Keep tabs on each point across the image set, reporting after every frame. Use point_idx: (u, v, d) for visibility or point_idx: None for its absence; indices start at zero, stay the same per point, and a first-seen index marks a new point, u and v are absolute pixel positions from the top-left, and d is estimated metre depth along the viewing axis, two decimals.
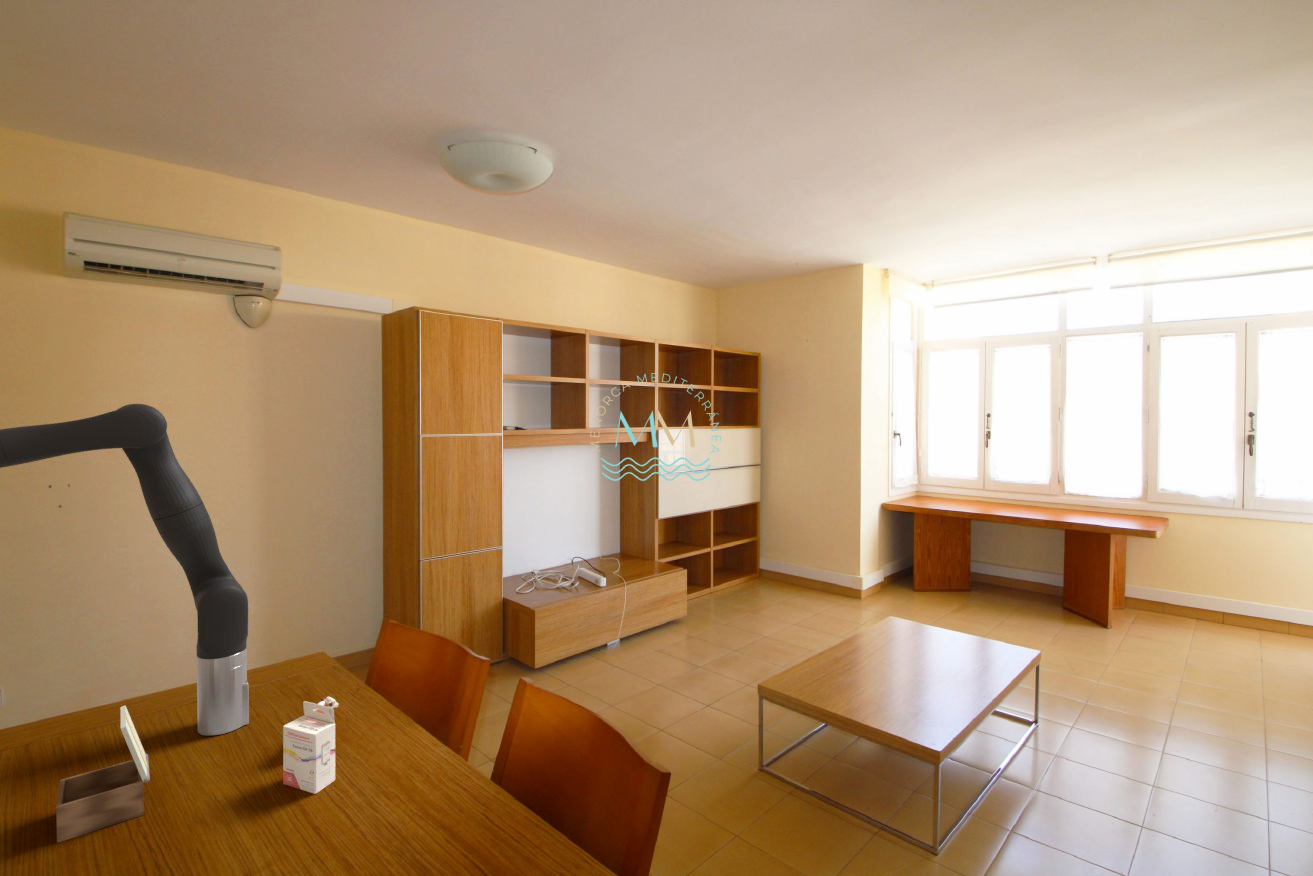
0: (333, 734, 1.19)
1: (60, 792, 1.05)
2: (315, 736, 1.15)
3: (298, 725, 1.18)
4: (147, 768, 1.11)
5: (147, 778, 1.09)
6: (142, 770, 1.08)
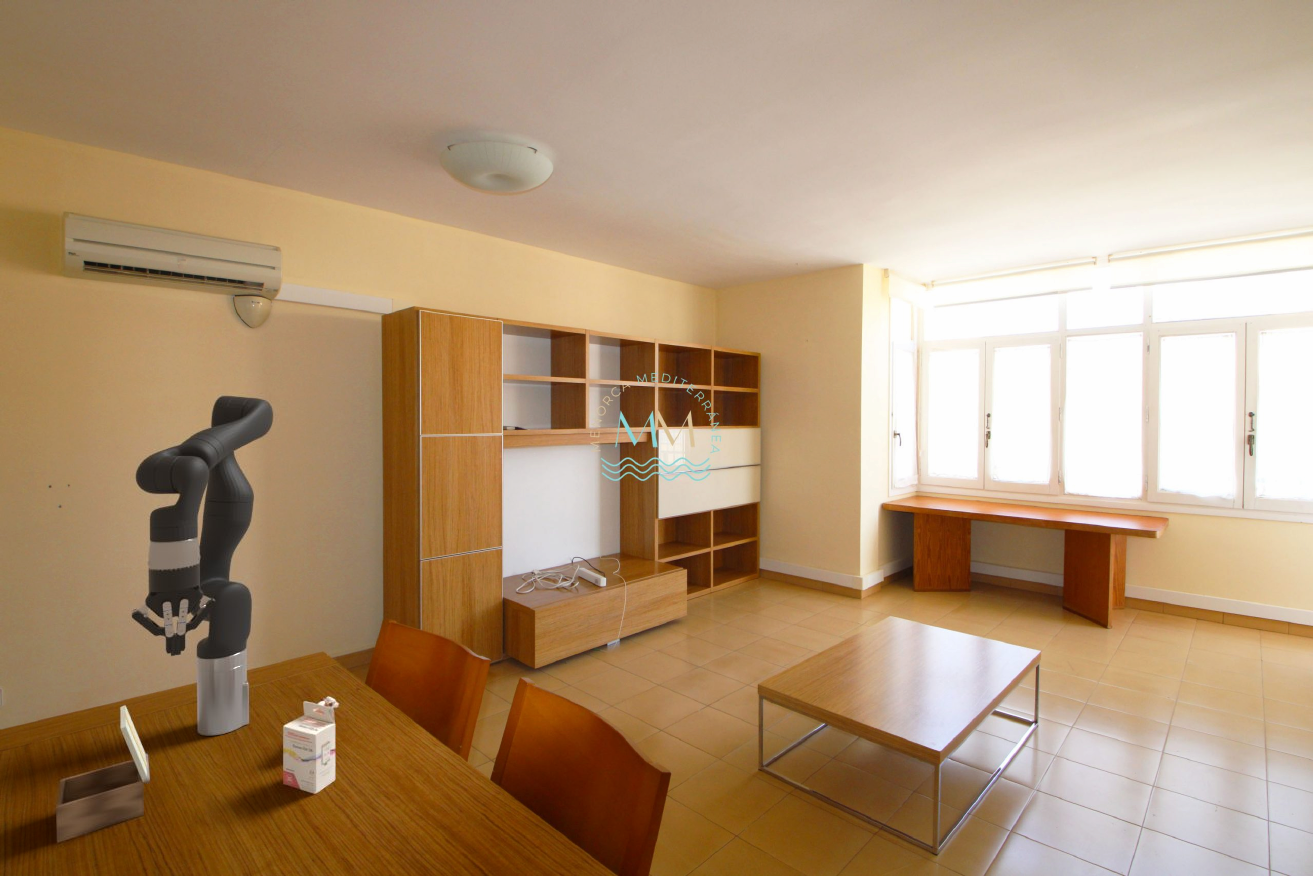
0: (333, 734, 1.19)
1: (60, 792, 1.05)
2: (314, 736, 1.15)
3: (298, 725, 1.18)
4: (147, 768, 1.11)
5: (147, 778, 1.09)
6: (142, 770, 1.08)
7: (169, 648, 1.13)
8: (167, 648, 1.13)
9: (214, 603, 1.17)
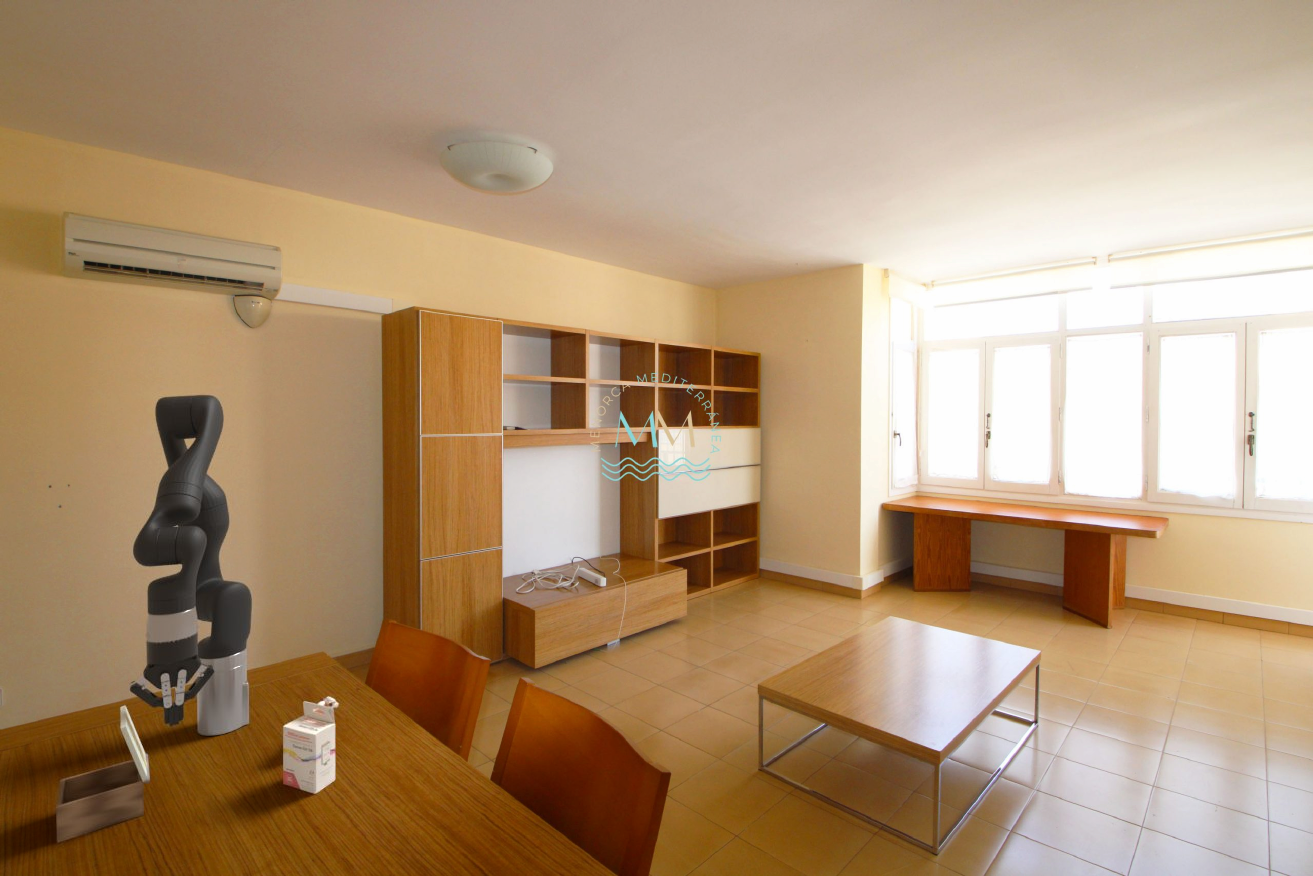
0: (333, 734, 1.19)
1: (60, 792, 1.05)
2: (314, 736, 1.15)
3: (298, 725, 1.18)
4: (147, 768, 1.11)
5: (147, 778, 1.09)
6: (142, 770, 1.08)
7: (167, 718, 1.14)
8: (165, 719, 1.13)
9: (212, 671, 1.17)
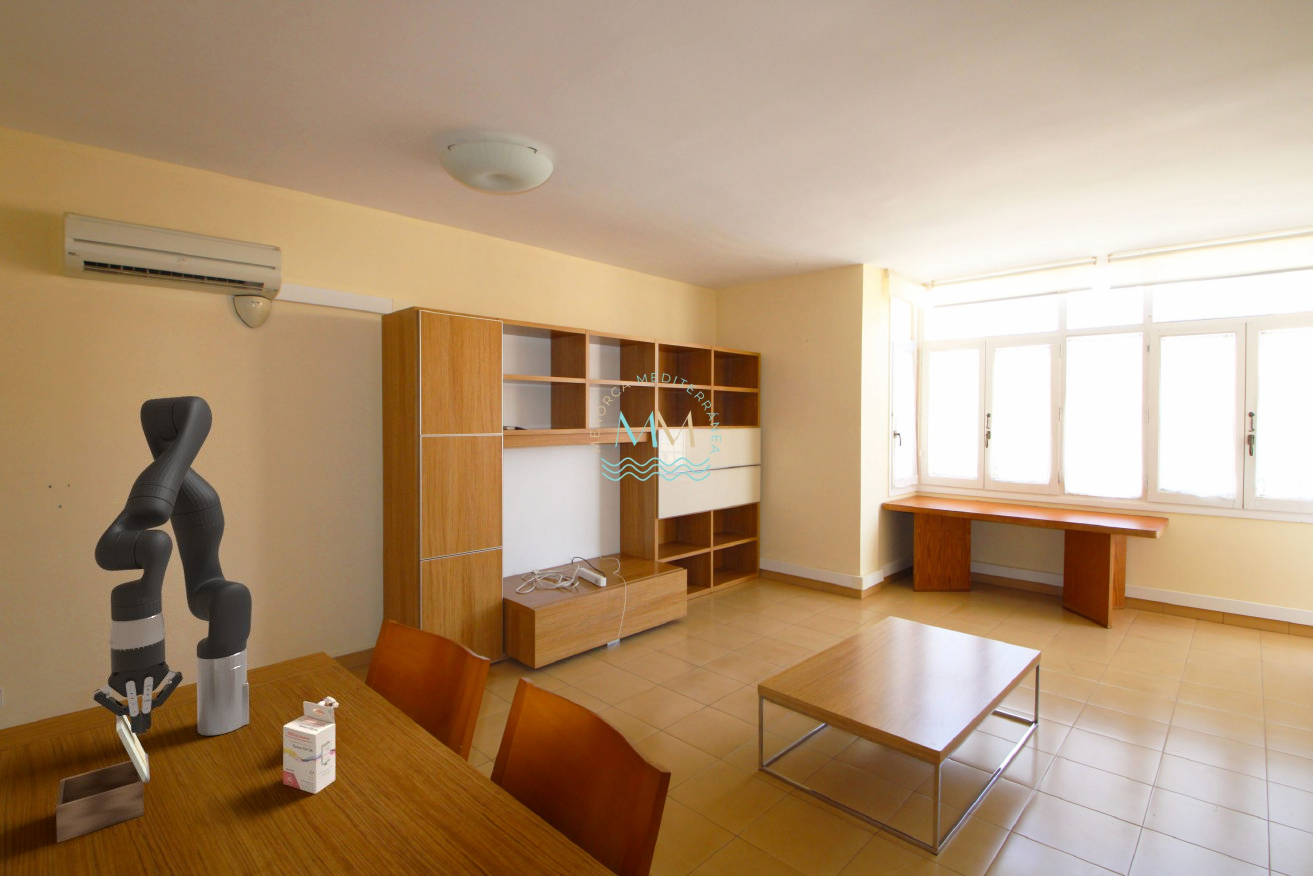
0: (333, 734, 1.19)
1: (60, 792, 1.05)
2: (314, 736, 1.15)
3: (298, 725, 1.18)
4: (147, 768, 1.11)
5: (147, 778, 1.09)
6: (141, 770, 1.08)
7: (134, 727, 1.10)
8: (132, 727, 1.10)
9: (181, 678, 1.14)
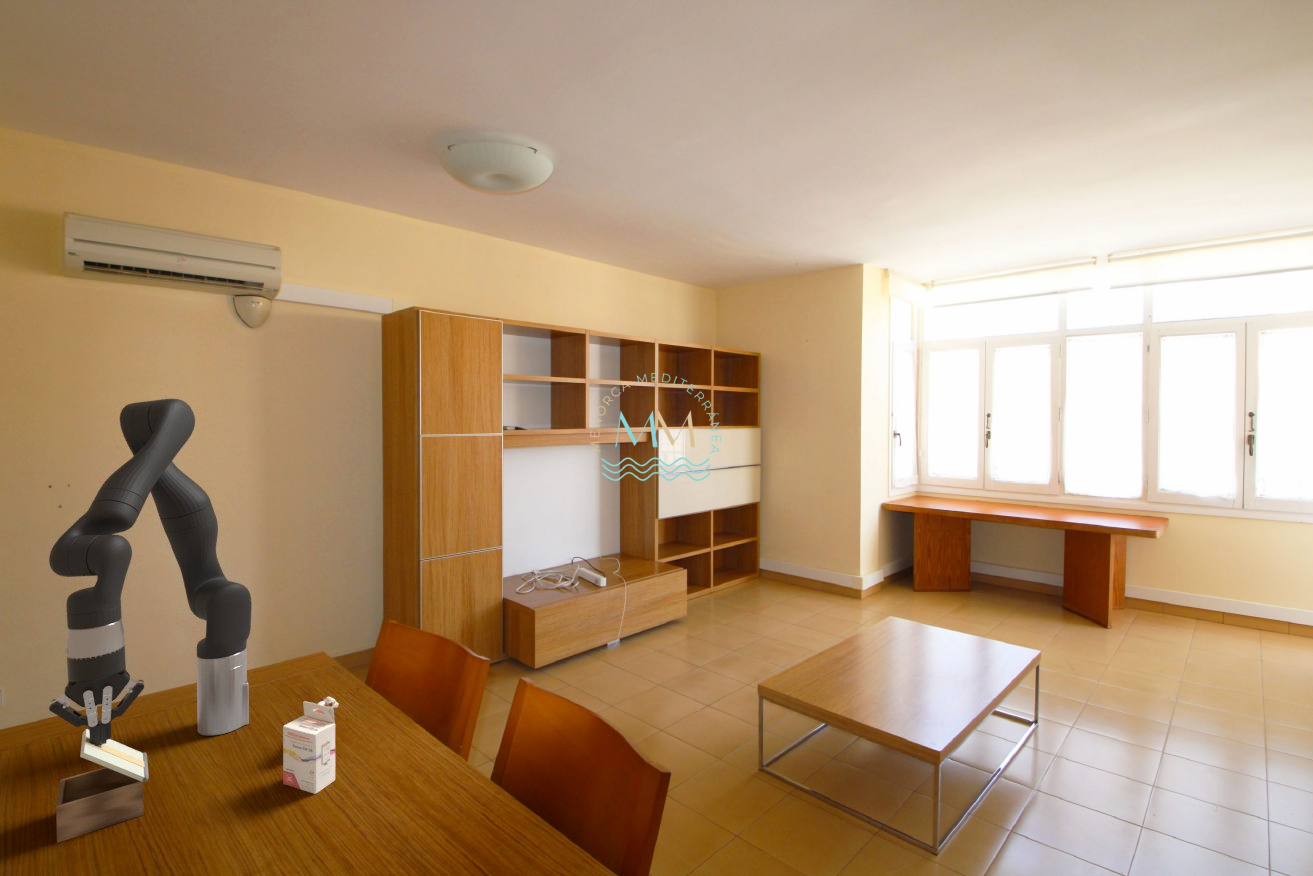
0: (333, 734, 1.19)
1: (60, 792, 1.05)
2: (314, 736, 1.15)
3: (298, 725, 1.18)
4: (144, 767, 1.11)
5: (145, 777, 1.08)
6: (134, 774, 1.07)
7: (93, 738, 1.07)
8: (91, 738, 1.07)
9: (142, 687, 1.11)
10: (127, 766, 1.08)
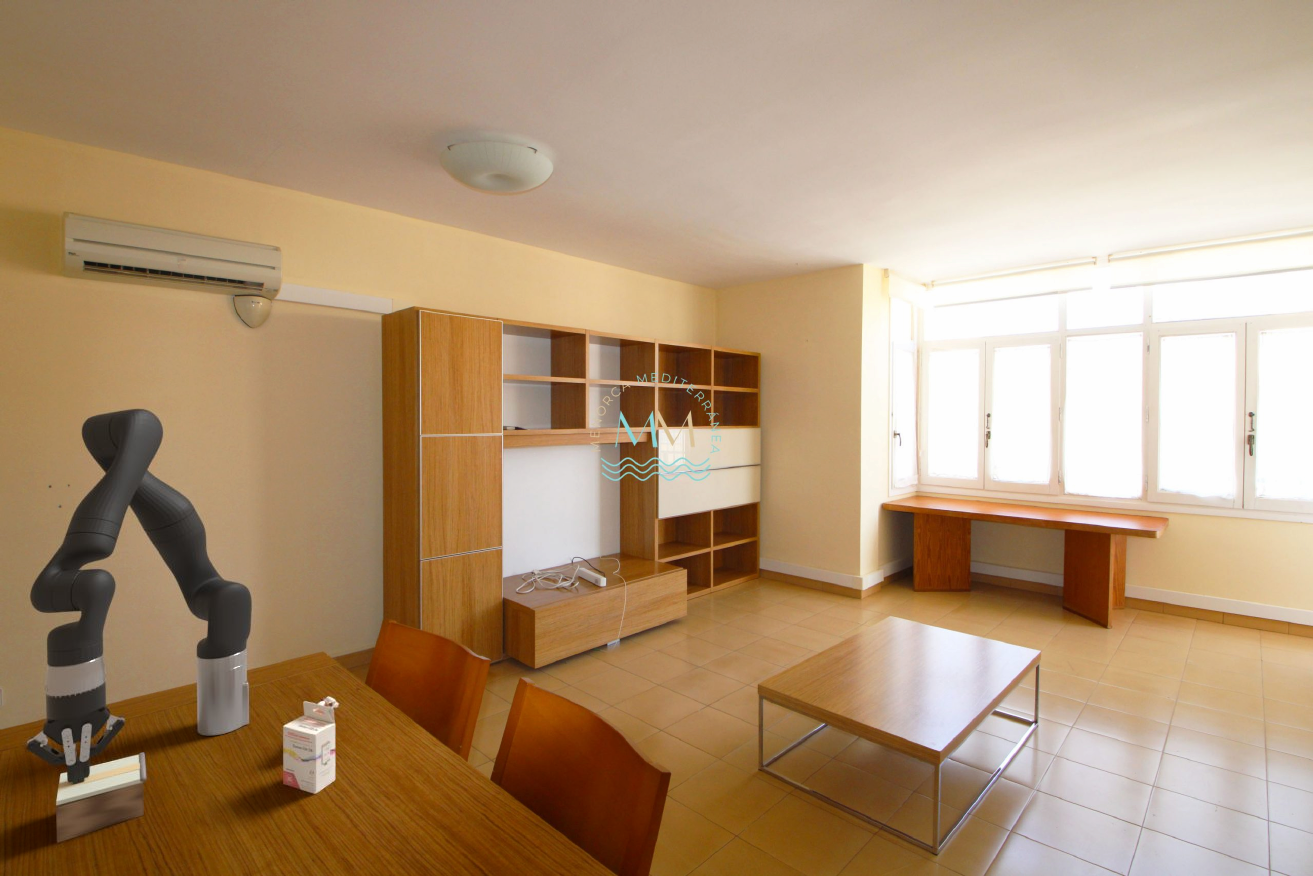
0: (333, 734, 1.19)
1: None
2: (315, 736, 1.15)
3: (298, 725, 1.18)
4: (140, 768, 1.11)
5: (141, 778, 1.08)
6: (127, 783, 1.07)
7: (71, 776, 1.05)
8: (68, 776, 1.05)
9: (122, 724, 1.09)
10: (117, 781, 1.07)
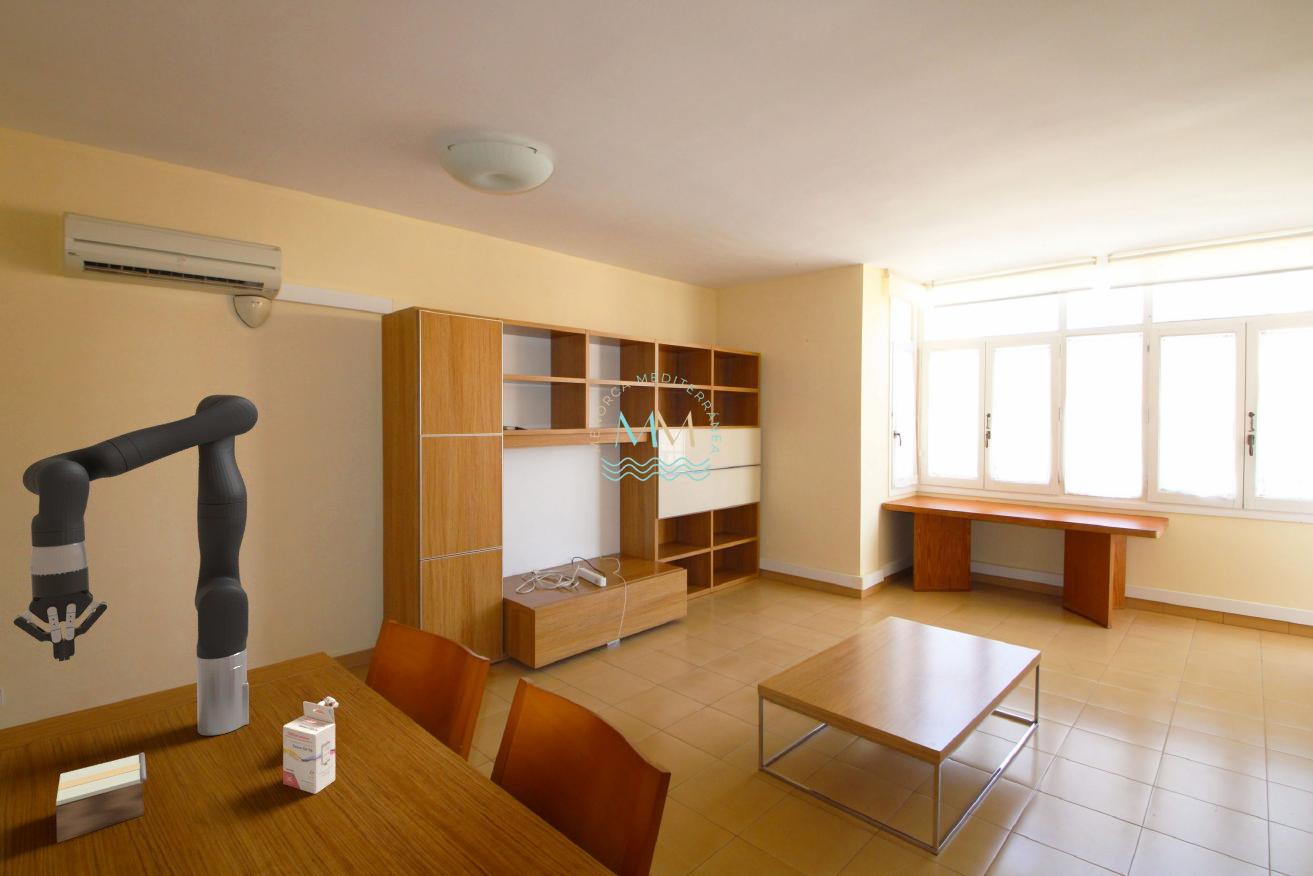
0: (333, 734, 1.19)
1: None
2: (314, 736, 1.15)
3: (298, 725, 1.18)
4: (140, 768, 1.11)
5: (141, 778, 1.08)
6: (127, 783, 1.07)
7: (57, 653, 1.12)
8: (54, 653, 1.12)
9: (105, 607, 1.16)
10: (117, 781, 1.07)
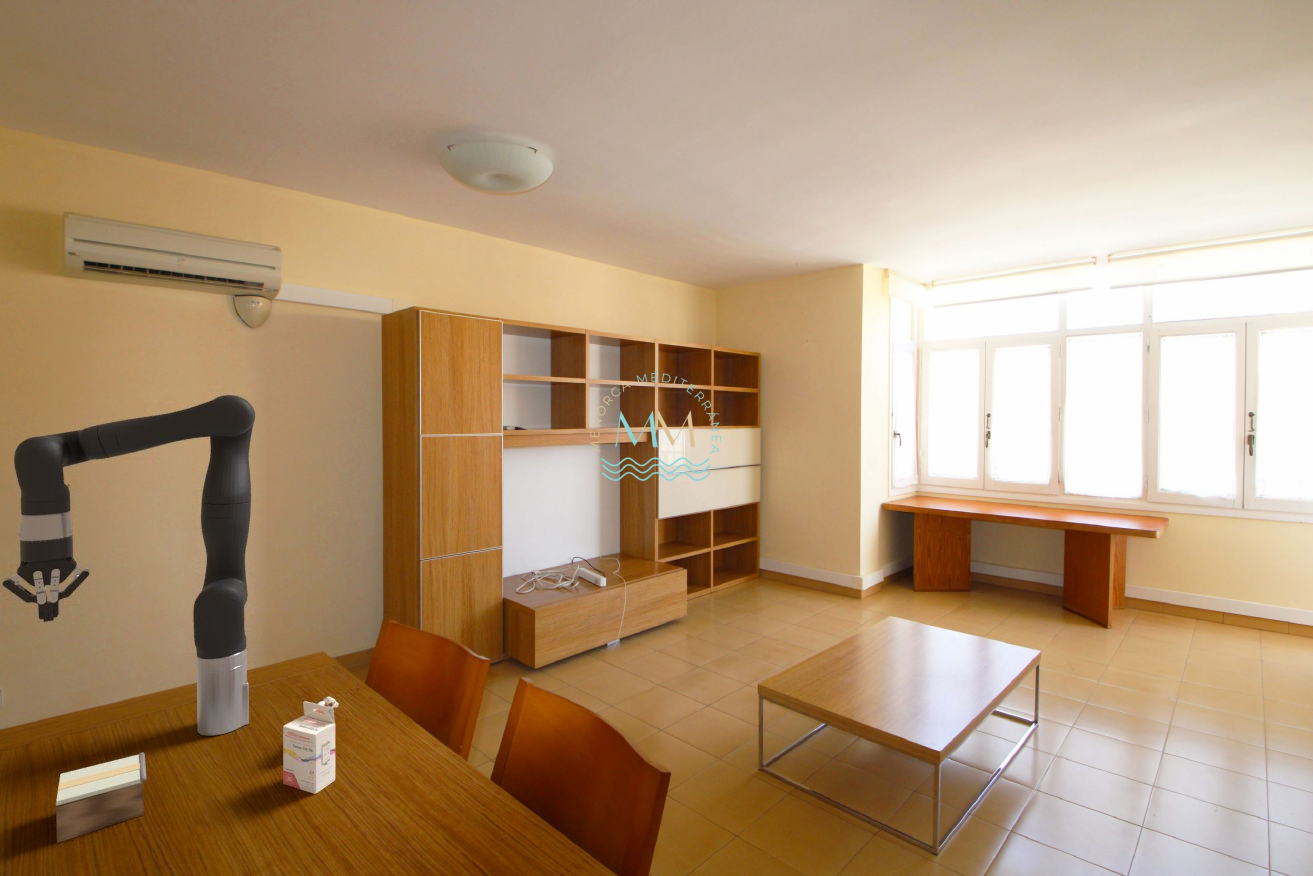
0: (333, 734, 1.19)
1: None
2: (315, 736, 1.15)
3: (298, 725, 1.18)
4: (140, 768, 1.11)
5: (141, 778, 1.08)
6: (127, 783, 1.07)
7: (42, 614, 1.22)
8: (39, 614, 1.22)
9: (87, 573, 1.26)
10: (117, 781, 1.07)
